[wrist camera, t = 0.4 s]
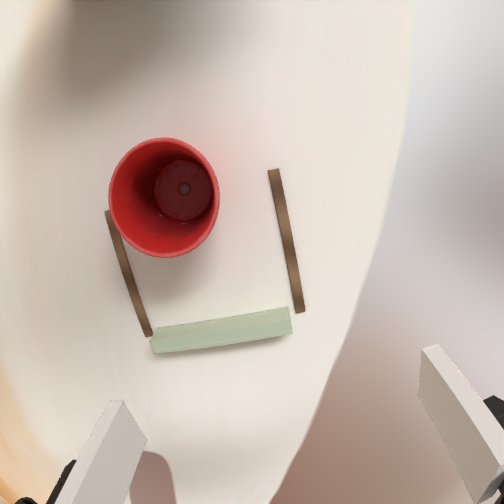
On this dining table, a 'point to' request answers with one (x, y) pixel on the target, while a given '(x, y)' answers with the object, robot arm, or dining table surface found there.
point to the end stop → (222, 331)
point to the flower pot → (164, 197)
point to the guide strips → (287, 242)
